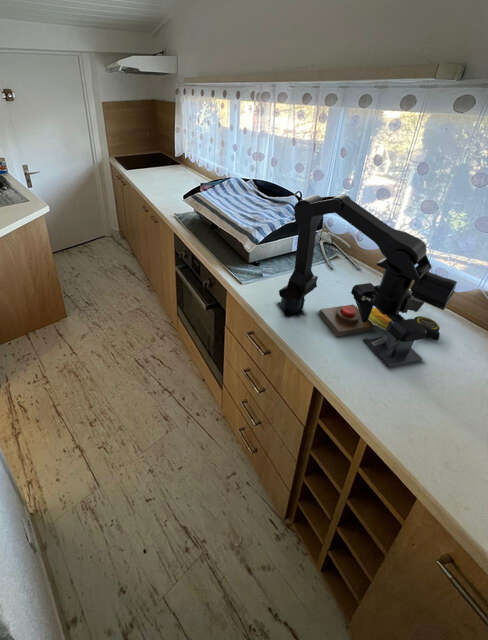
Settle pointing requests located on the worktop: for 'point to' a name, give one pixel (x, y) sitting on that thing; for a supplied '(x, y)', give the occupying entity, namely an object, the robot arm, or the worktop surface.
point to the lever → (375, 344)
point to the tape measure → (429, 327)
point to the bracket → (397, 352)
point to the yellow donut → (379, 319)
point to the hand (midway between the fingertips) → (375, 334)
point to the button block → (345, 321)
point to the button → (348, 311)
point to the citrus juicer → (326, 238)
